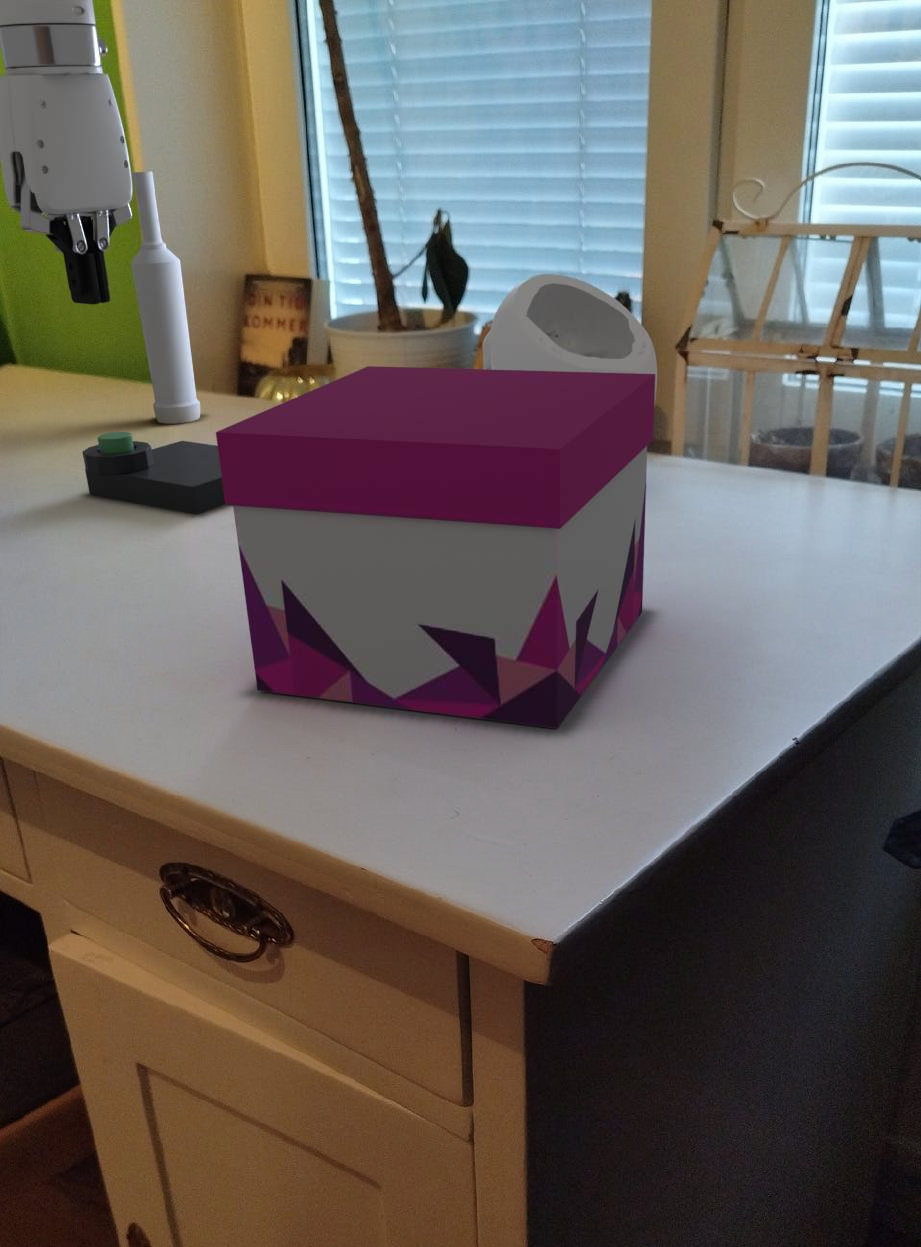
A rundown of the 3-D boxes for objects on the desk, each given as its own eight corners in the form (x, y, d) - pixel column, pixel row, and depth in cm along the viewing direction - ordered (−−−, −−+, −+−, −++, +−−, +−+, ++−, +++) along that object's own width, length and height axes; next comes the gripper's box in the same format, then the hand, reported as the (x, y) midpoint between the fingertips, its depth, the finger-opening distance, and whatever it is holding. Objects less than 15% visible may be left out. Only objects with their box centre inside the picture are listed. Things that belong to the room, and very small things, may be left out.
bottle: (147, 424, 142) (107, 174, 129) (167, 414, 146) (130, 171, 134) (190, 424, 140) (154, 172, 128) (209, 414, 145) (175, 170, 132)
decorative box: (384, 588, 89) (367, 366, 82) (647, 612, 83) (655, 374, 75) (250, 693, 74) (215, 432, 66) (560, 733, 67) (559, 449, 60)
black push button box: (78, 496, 115) (69, 452, 113) (182, 464, 124) (176, 423, 122) (188, 517, 107) (181, 470, 105) (291, 481, 116) (286, 437, 114)
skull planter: (574, 416, 126) (612, 238, 111) (647, 556, 116) (701, 382, 100) (443, 431, 123) (463, 250, 107) (506, 577, 113) (539, 400, 97)
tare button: (93, 454, 113) (90, 437, 113) (119, 447, 116) (116, 430, 115) (115, 458, 112) (112, 440, 111) (141, 451, 114) (138, 433, 113)
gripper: (95, 57, 107) (129, 289, 116) (-59, 56, 97) (-9, 311, 106) (155, 53, 103) (185, 294, 112) (1, 52, 93) (48, 317, 102)
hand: (91, 302), depth 109 cm, fingers closed
